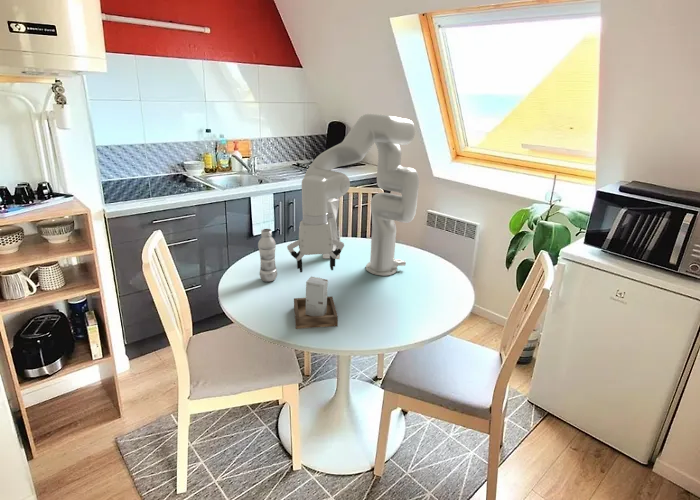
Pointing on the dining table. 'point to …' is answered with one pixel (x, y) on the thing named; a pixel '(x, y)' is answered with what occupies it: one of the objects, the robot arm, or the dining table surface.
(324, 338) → the dining table surface
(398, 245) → the dining table surface
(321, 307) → the skincare box
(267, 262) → the plastic bottle
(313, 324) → the walnut tray
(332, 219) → the skyscraper
